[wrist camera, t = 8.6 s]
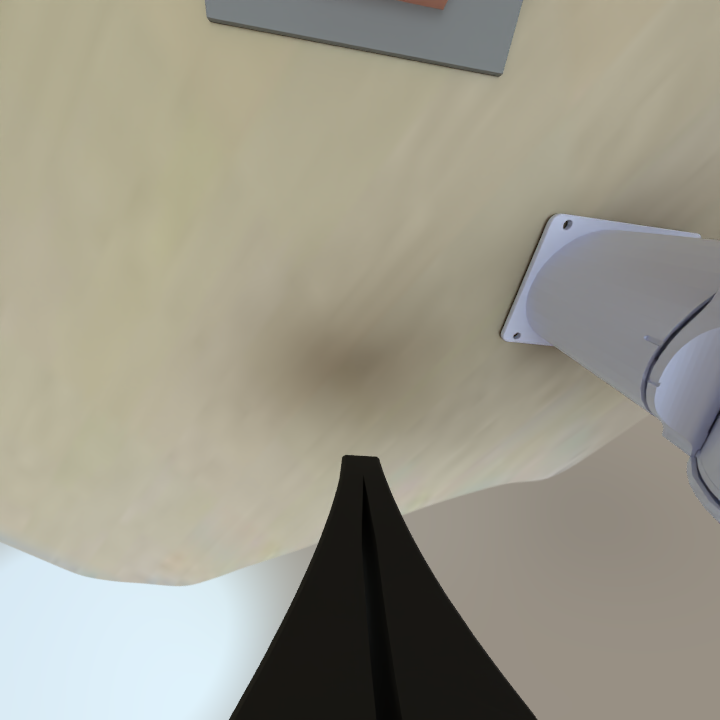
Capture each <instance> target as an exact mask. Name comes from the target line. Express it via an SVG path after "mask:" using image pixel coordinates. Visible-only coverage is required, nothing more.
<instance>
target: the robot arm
mask: <svg viewBox="0 0 720 720" xmlns="http://www.w3.org/2000/svg"><path fill="white" fill-rule="evenodd" d="M565 221H568V224H567V226H566V228H564V229H563V224H564V223H565ZM516 333H518V334H517V336H515V337H513V336H514V334H516ZM501 338H502V339H503V340H505V341H508V342H518V343H527V344H537V345H547V346H555V347H556V348H558V349H559V350H560V351H562V352H563V353H565V354H566V355H568V356H569V357H570V358H572V359H573V360H575V361H576V362H578V363H579V364H580V365H582V366H583V367H585V368H586V369H588V370H589V371H590V372H592V373H593V374H595V375H596V376H598V377H599V378H600V379H602V380H603V381H605V382H606V383H608V384H609V385H610V386H612V387H613V388H615V389H616V390H618V391H619V392H620V393H622V394H623V395H625V396H626V397H627V398H629V399H630V400H632V401H633V402H635V403H636V404H637V405H639V406H640V407H642V408H643V409H645V410H646V411H647V412H649V413H650V414H652V415H653V416H655V417H657V418H658V419H659V420H660V421H661V422H662V424H663V428H664V429H663V433H662V435H663V437H665V438H666V439H667V440H669V441H670V442H672V443H673V444H674V445H676V446H677V447H678V448H680V449H681V450H682V451H684V452H685V453H686V454H688V455H689V456H690V458H689V460H688V462H687V476H688V479H689V484H690V486H691V488H692V489H693V492H694V494H695V495H696V497H697V498H698V499H699V501H700V502H701V504H702V505H703V506H704V508H705V509H706V510H707V511H708V512H709V513H710V514H711V515H712V516H713V517H714V518H715V519H716V520H717V521H718V522H719V523H720V240H714V239H704V238H701V236H700V234H698V233H691V232H684V231H677V230H670V229H664V228H657V227H650V226H643V225H636V224H630V223H623V222H616V221H609V220H602V219H596V218H589V217H582V216H575V215H568V214H555V215H553V216H552V217H551V218H550V219H549V221H548V222H547V225H546V227H545V229H544V232H543V234H542V236H541V239H540V241H539V244H538V246H537V248H536V251H535V253H534V256H533V258H532V260H531V263H530V265H529V267H528V270H527V272H526V275H525V277H524V279H523V282H522V284H521V286H520V289H519V291H518V294H517V296H516V298H515V301H514V303H513V306H512V308H511V310H510V313H509V315H508V317H507V320H506V322H505V325H504V327H503V329H502V332H501ZM229 720H537V719H536V717H535V716H534V714H533V713H532V712H531V710H530V709H529V708H528V707H527V705H526V704H525V703H524V701H523V700H522V699H521V698H520V696H519V695H518V694H517V693H516V691H515V690H514V689H513V687H512V686H511V685H510V683H509V682H508V681H507V679H506V678H505V677H504V676H503V674H502V673H501V672H500V670H499V669H498V668H497V666H496V665H495V664H494V662H493V661H492V660H491V658H490V657H489V656H488V654H487V653H486V651H485V650H484V649H483V647H482V646H481V645H480V643H479V642H478V641H477V639H476V638H475V636H474V635H473V634H472V632H471V631H470V629H469V628H468V626H467V625H466V623H465V622H464V620H463V619H462V618H461V616H460V614H459V613H458V611H457V610H456V608H455V607H454V606H453V604H452V603H451V601H450V600H449V599H448V597H447V595H446V594H445V592H444V591H443V589H442V587H441V586H440V584H439V582H438V581H437V579H436V578H435V576H434V574H433V573H432V571H431V569H430V568H429V566H428V564H427V563H426V561H425V560H424V557H423V556H422V554H421V552H420V550H419V548H418V547H417V545H416V543H415V541H414V539H413V538H412V535H411V533H410V531H409V530H408V528H407V526H406V524H405V522H404V520H403V518H402V515H401V513H400V511H399V509H398V507H397V504H396V502H395V500H394V498H393V496H392V493H391V491H390V488H389V486H388V483H387V481H386V478H385V476H384V473H383V470H382V467H381V464H380V461H379V458H378V457H372V456H354V455H345V456H343V457H342V464H341V471H340V479H339V483H338V487H337V491H336V494H335V497H334V501H333V504H332V507H331V510H330V513H329V516H328V519H327V522H326V524H325V527H324V530H323V532H322V535H321V538H320V540H319V543H318V545H317V548H316V550H315V553H314V555H313V557H312V559H311V562H310V564H309V567H308V569H307V571H306V573H305V575H304V577H303V580H302V582H301V584H300V586H299V588H298V590H297V593H296V595H295V597H294V599H293V601H292V603H291V605H290V607H289V609H288V611H287V613H286V615H285V617H284V619H283V621H282V623H281V625H280V627H279V629H278V631H277V633H276V634H275V636H274V638H273V640H272V642H271V644H270V646H269V648H268V650H267V652H266V654H265V656H264V658H263V660H262V661H261V663H260V665H259V667H258V669H257V670H256V672H255V674H254V676H253V678H252V680H251V681H250V683H249V685H248V687H247V688H246V690H245V692H244V694H243V695H242V697H241V699H240V701H239V703H238V705H237V706H236V708H235V710H234V712H233V713H232V715H231V717H230V719H229Z"/></svg>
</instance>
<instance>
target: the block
mask: <svg viewBox="0 0 720 720" xmlns="http://www.w3.org/2000/svg"><path fill="white" fill-rule="evenodd" d="M398 1H402V2H407V3H412V4H417V5H422V6H426V7H431V8H436V9H441V10H443V9H444V7H445V5H446V3H447V1H448V0H398Z"/></svg>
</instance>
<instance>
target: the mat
mask: <svg viewBox="0 0 720 720" xmlns="http://www.w3.org/2000/svg"><path fill="white" fill-rule="evenodd" d="M522 2H523V0H448V1H447V3H446V5H445V7H444V9H443V10H441V9H436V8H431V7H426V6H422V5H417V4H412V3H407V2H402V1H398V0H205V5H206V14H207V18H208V19H209V21H211V22H216V23H221V24H227V25H232V26H237V27H242V28H248V29H253V30H258V31H263V32H269V33H274V34H279V35H285V36H290V37H295V38H300V39H306V40H311V41H316V42H321V43H327V44H332V45H337V46H342V47H348V48H353V49H358V50H363V51H369V52H374V53H379V54H384V55H390V56H395V57H400V58H405V59H411V60H416V61H421V62H426V63H432V64H437V65H442V66H447V67H453V68H458V69H463V70H468V71H474V72H479V73H484V74H489V75H495V76H501V75H502V74H503V70H504V67H505V63H506V60H507V56H508V52H509V49H510V45H511V42H512V38H513V34H514V31H515V27H516V24H517V20H518V16H519V13H520V9H521V5H522Z"/></svg>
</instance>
